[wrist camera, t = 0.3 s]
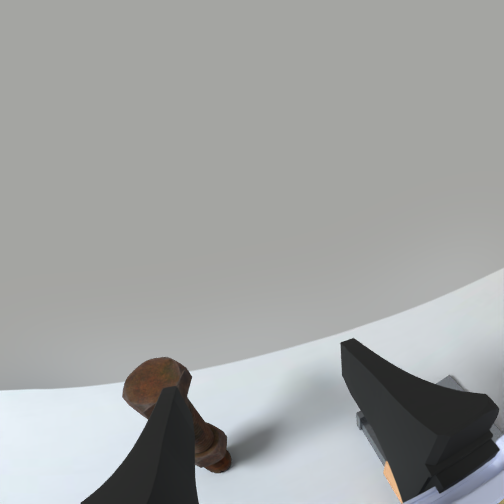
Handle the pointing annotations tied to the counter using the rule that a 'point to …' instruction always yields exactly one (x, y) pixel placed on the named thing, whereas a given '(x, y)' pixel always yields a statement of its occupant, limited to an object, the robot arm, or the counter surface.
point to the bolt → (175, 374)
